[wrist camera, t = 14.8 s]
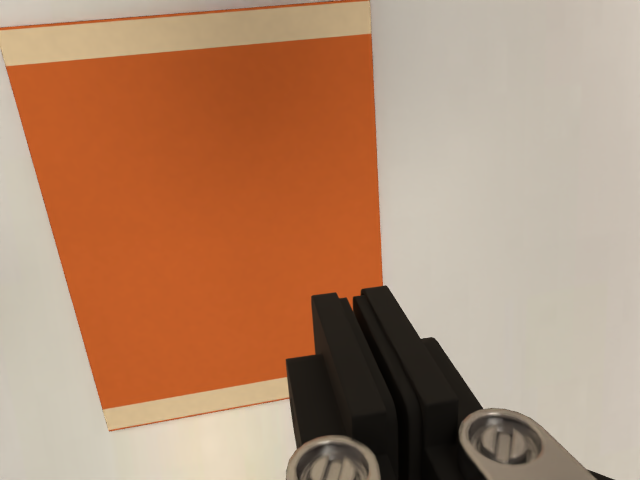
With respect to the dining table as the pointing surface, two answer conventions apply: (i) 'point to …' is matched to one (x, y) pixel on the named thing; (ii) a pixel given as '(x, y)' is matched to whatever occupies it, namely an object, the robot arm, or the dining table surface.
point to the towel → (203, 191)
